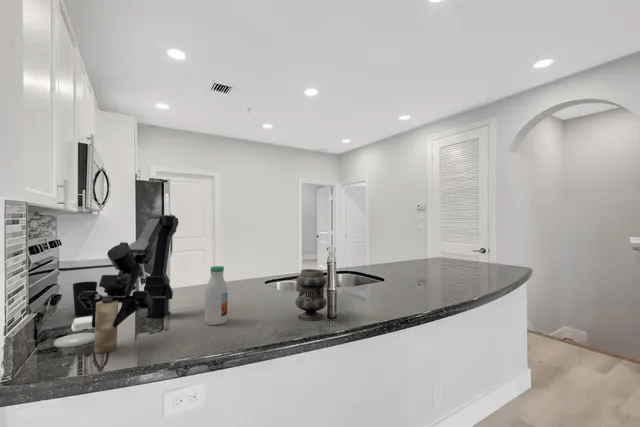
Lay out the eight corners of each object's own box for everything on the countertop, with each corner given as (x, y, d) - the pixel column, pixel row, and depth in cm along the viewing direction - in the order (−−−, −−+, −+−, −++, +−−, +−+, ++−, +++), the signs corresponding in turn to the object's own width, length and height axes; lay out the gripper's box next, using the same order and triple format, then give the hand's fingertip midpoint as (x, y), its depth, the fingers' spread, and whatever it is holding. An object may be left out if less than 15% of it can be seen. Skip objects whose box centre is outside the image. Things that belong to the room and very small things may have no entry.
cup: (82, 317, 117) (84, 285, 118) (66, 316, 119) (67, 284, 119) (101, 312, 125) (102, 281, 125) (85, 311, 126) (86, 281, 127)
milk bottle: (214, 327, 108) (215, 268, 109) (199, 323, 112) (201, 266, 113) (231, 321, 114) (232, 266, 115) (217, 318, 119) (218, 264, 119)
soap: (71, 326, 108) (71, 317, 109) (95, 322, 113) (95, 314, 113) (71, 333, 102) (72, 324, 102) (97, 328, 106) (97, 320, 106)
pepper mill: (120, 345, 90) (122, 295, 91) (108, 353, 85) (110, 300, 86) (102, 345, 90) (104, 295, 91) (89, 352, 85) (91, 299, 86)
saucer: (104, 335, 99) (104, 332, 99) (79, 347, 89) (79, 344, 89) (72, 335, 99) (72, 332, 99) (44, 347, 89) (44, 344, 89)
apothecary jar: (332, 317, 121) (333, 270, 122) (311, 324, 112) (311, 273, 113) (310, 311, 130) (311, 267, 130) (288, 317, 121) (289, 270, 122)
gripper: (83, 263, 92) (52, 312, 80) (149, 263, 93) (128, 311, 82) (98, 285, 99) (72, 332, 88) (160, 285, 101) (142, 331, 89)
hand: (103, 326), depth 86 cm, fingers closed on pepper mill, 5 cm apart
